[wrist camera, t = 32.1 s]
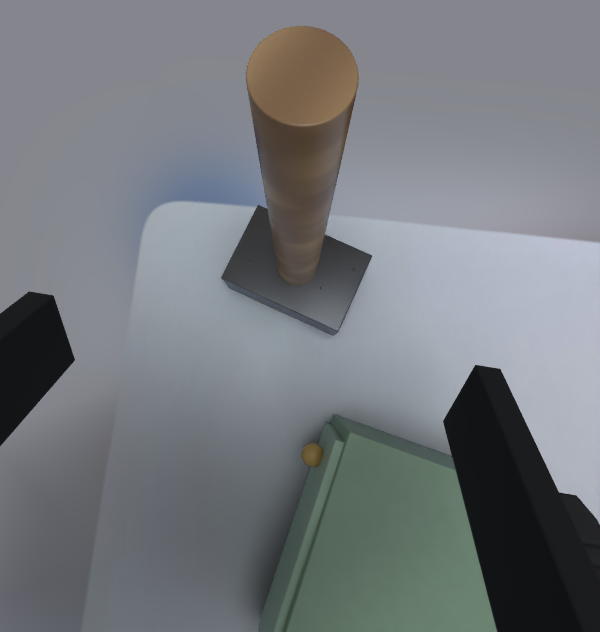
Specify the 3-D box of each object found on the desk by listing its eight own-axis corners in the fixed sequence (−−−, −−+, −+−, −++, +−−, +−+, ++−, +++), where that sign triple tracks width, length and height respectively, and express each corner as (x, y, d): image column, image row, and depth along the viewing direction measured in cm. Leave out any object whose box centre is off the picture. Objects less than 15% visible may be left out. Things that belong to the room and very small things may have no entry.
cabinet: (240, 617, 25) (216, 729, 17) (312, 406, 27) (319, 420, 20) (445, 695, 25) (516, 847, 17) (501, 474, 27) (588, 517, 19)
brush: (228, 287, 29) (81, 103, 9) (261, 221, 30) (195, -83, 10) (333, 335, 28) (425, 255, 8) (364, 267, 29) (513, 47, 9)
